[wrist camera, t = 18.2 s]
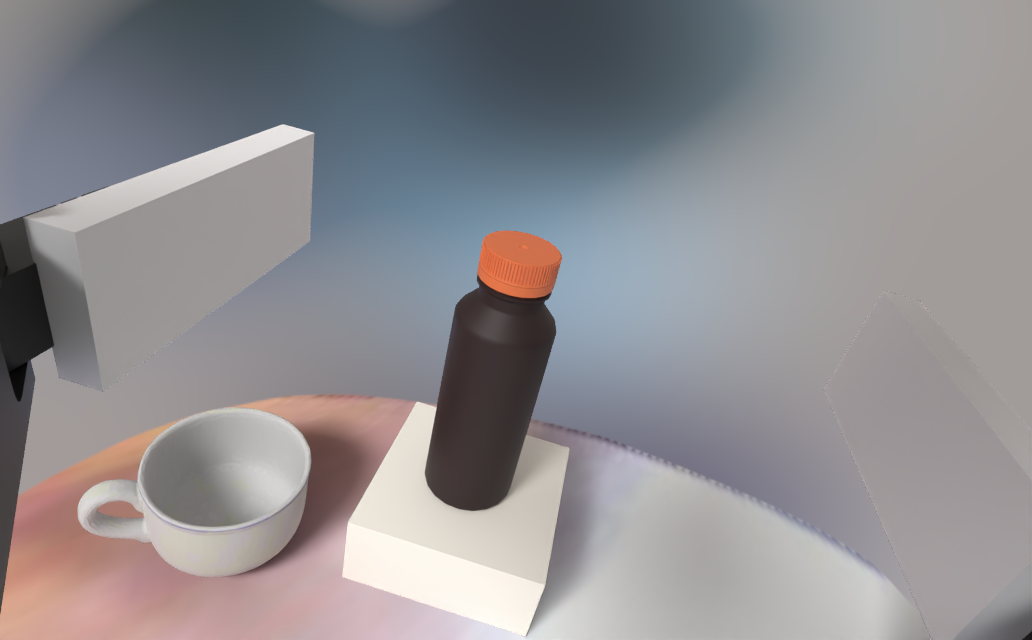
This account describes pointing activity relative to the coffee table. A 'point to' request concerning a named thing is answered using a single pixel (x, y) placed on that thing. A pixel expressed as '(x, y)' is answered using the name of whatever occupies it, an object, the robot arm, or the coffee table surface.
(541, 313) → the vinegar
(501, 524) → the riser
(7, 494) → the robot arm
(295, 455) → the teacup
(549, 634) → the coffee table surface
